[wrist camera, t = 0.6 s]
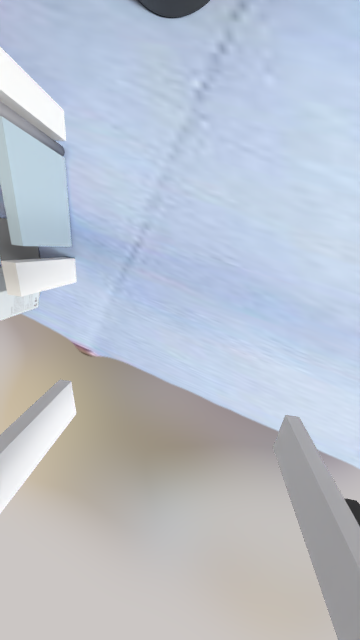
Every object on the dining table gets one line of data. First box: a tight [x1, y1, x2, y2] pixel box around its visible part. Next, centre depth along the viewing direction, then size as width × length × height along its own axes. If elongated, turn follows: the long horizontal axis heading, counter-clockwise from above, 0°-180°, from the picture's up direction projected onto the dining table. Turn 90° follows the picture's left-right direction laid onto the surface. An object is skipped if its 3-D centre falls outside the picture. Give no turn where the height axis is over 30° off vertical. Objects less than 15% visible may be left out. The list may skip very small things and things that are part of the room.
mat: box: [0, 218, 40, 261], centre depth 35 cm, size 8×8×1 cm
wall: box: [0, 47, 77, 297], centre depth 27 cm, size 25×2×12 cm, turn 173°
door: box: [0, 101, 72, 247], centre depth 27 cm, size 15×3×11 cm, turn 173°
